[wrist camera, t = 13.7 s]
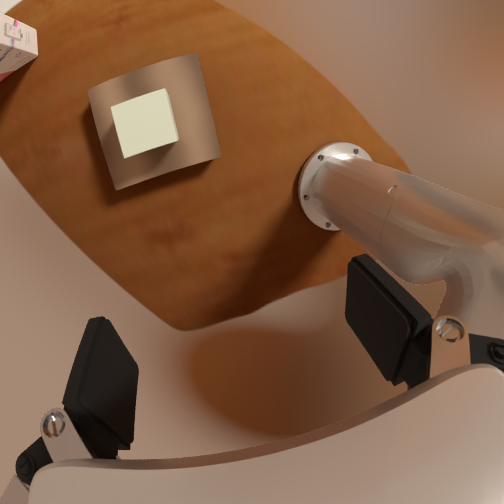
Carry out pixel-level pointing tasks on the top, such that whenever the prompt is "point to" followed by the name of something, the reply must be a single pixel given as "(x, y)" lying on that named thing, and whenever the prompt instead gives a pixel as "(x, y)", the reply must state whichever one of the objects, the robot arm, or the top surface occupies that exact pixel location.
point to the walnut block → (184, 111)
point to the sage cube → (145, 122)
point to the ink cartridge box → (15, 45)
